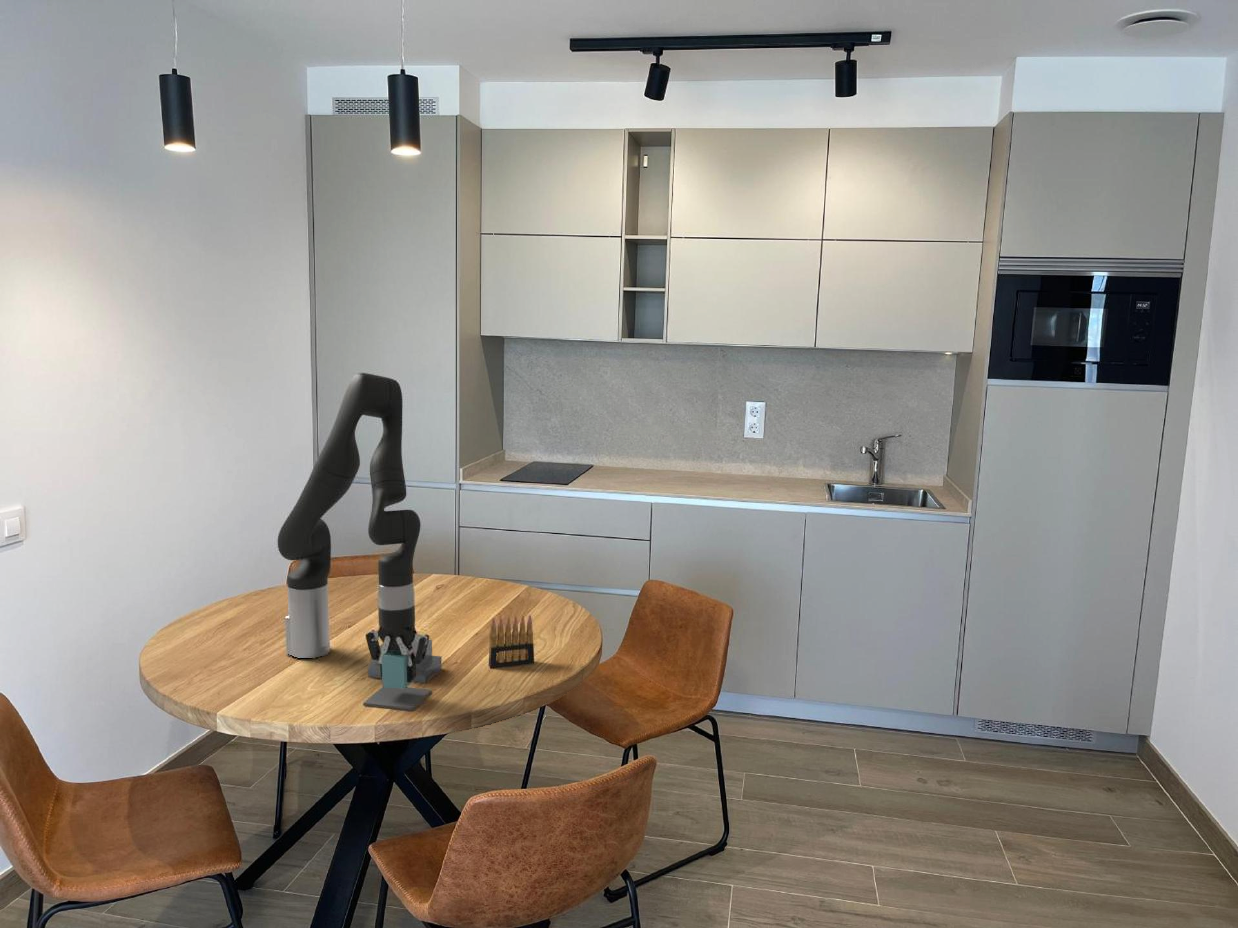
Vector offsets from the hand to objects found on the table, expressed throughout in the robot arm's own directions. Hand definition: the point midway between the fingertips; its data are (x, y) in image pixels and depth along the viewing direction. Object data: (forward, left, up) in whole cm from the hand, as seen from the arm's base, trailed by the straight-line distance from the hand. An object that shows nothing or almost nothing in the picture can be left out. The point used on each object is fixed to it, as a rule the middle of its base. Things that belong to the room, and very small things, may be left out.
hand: (398, 679), depth 191 cm
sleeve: (0, 0, -1) cm, 1 cm away
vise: (-5, +14, -4) cm, 15 cm away
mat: (0, 0, -4) cm, 4 cm away
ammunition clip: (+17, +25, -5) cm, 30 cm away
